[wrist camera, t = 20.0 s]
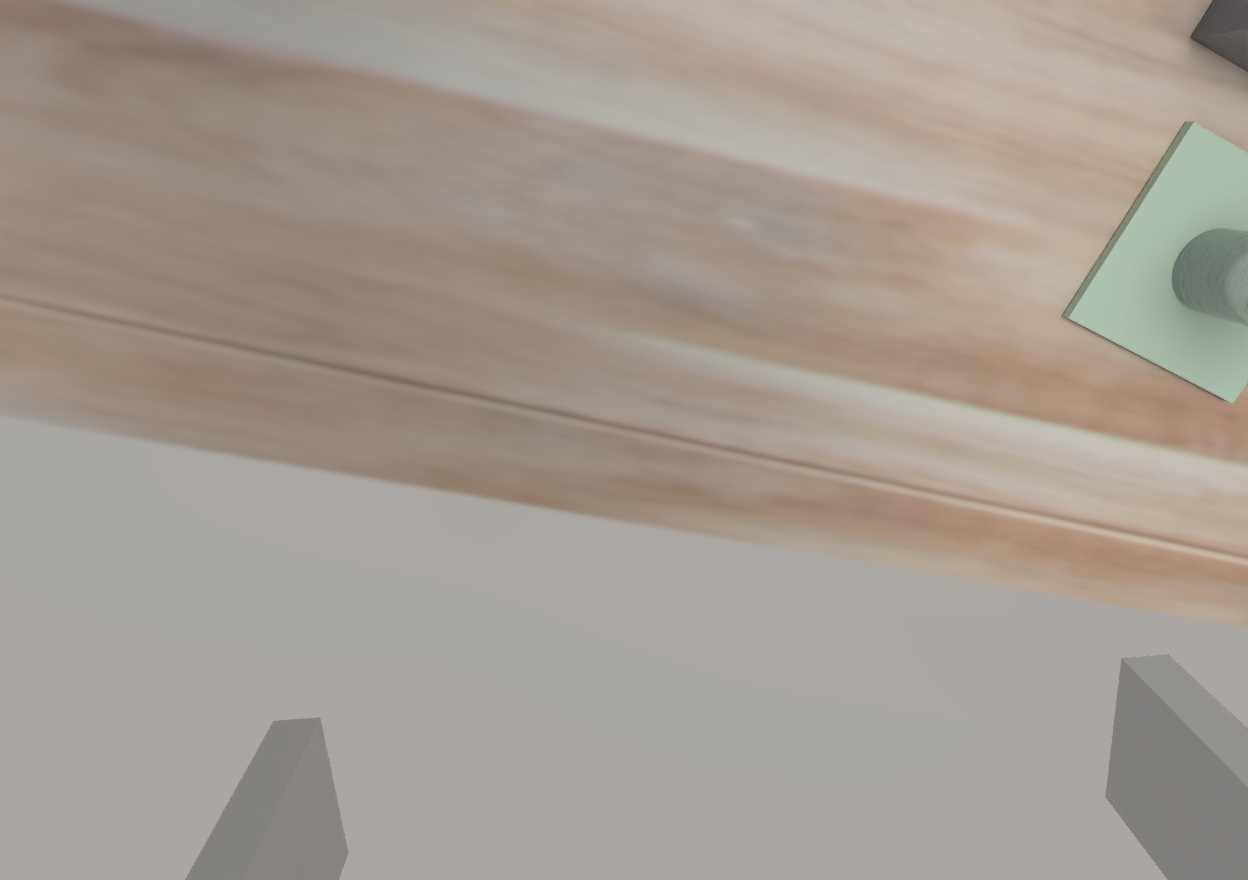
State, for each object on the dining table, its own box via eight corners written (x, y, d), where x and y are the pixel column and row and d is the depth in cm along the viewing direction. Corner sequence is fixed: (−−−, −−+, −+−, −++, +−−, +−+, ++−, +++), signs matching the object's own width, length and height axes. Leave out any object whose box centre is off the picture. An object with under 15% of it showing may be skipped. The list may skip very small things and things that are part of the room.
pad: (1062, 315, 45) (1068, 317, 45) (1185, 121, 43) (1193, 121, 42) (1224, 400, 47) (1232, 403, 46) (1354, 218, 44) (1364, 219, 44)
